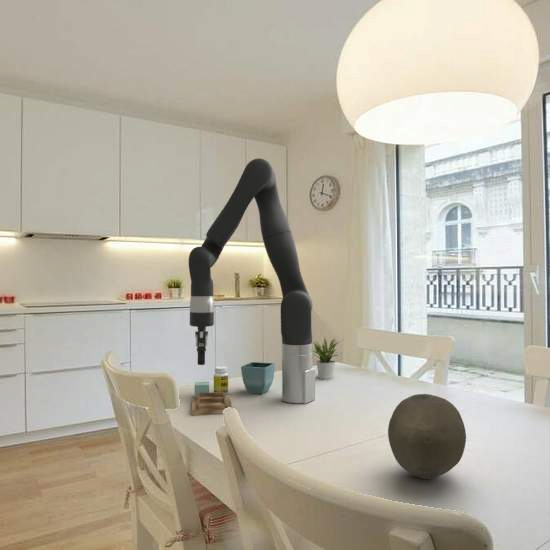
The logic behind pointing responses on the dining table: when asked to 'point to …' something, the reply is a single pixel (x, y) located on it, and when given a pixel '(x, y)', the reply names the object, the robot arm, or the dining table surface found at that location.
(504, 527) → the dining table surface
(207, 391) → the block
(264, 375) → the flower pot
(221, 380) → the supplement bottle
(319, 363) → the house plant
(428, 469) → the brown ball
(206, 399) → the walnut tray
